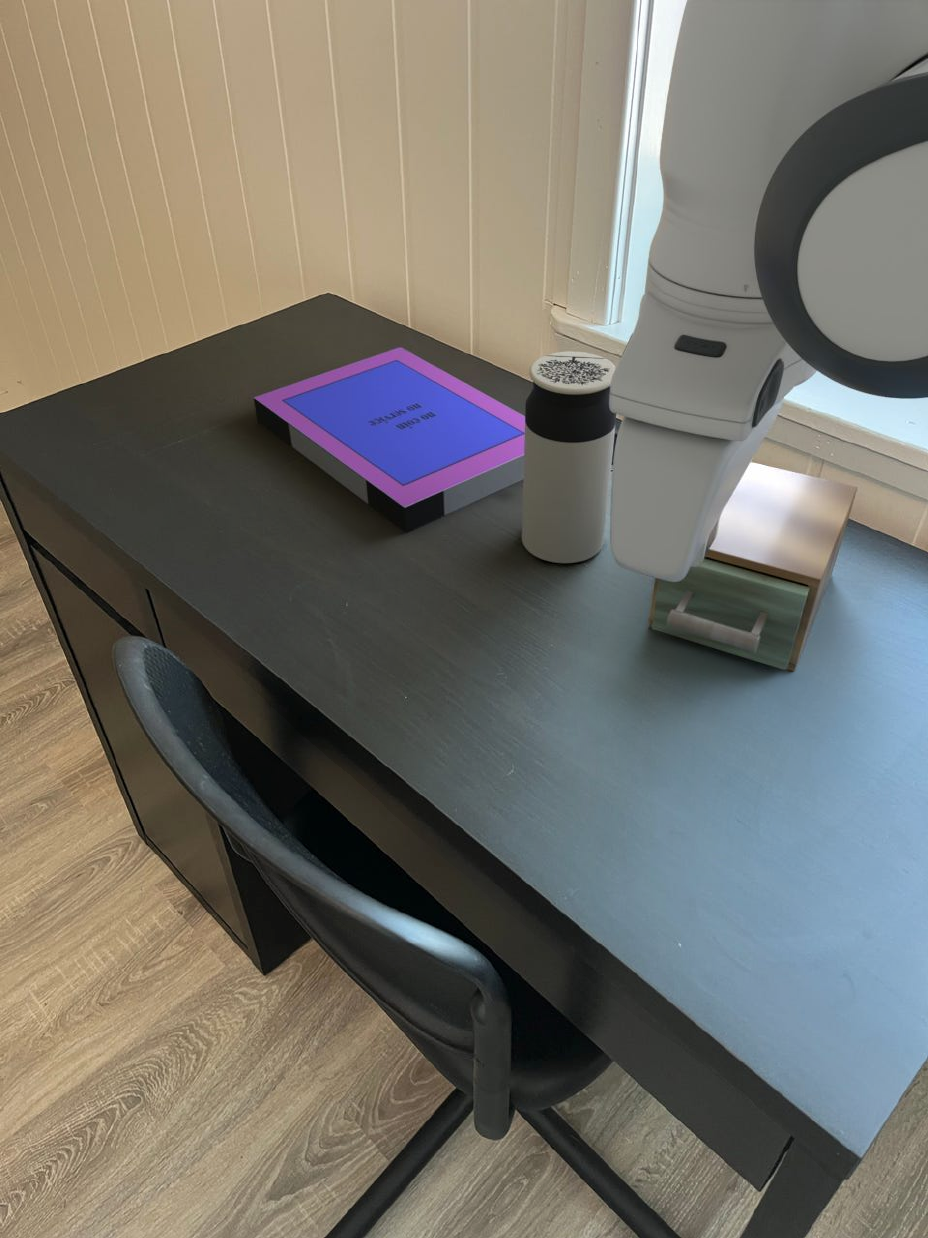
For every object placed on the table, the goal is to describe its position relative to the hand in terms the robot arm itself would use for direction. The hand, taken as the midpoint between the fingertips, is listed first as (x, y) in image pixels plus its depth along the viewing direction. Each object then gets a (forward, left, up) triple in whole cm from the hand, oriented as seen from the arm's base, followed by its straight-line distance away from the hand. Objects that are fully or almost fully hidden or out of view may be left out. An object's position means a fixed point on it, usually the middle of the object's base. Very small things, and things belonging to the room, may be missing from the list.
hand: (692, 551), depth 55 cm
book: (+42, -35, -21) cm, 59 cm away
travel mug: (+18, -25, -21) cm, 37 cm away
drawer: (0, -20, -20) cm, 28 cm away
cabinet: (0, -24, -21) cm, 32 cm away
